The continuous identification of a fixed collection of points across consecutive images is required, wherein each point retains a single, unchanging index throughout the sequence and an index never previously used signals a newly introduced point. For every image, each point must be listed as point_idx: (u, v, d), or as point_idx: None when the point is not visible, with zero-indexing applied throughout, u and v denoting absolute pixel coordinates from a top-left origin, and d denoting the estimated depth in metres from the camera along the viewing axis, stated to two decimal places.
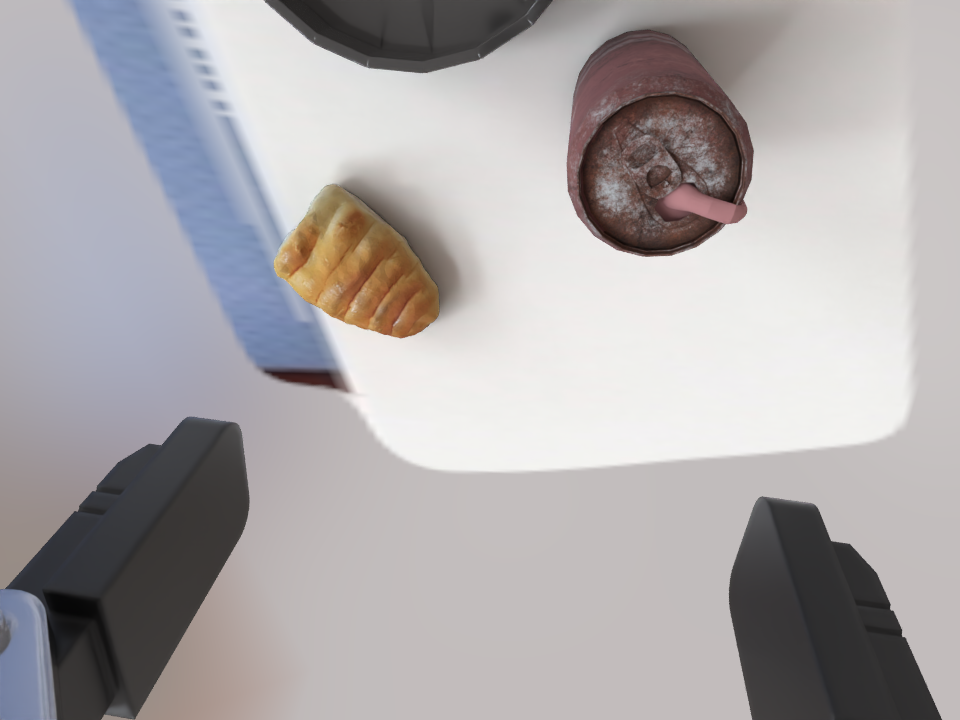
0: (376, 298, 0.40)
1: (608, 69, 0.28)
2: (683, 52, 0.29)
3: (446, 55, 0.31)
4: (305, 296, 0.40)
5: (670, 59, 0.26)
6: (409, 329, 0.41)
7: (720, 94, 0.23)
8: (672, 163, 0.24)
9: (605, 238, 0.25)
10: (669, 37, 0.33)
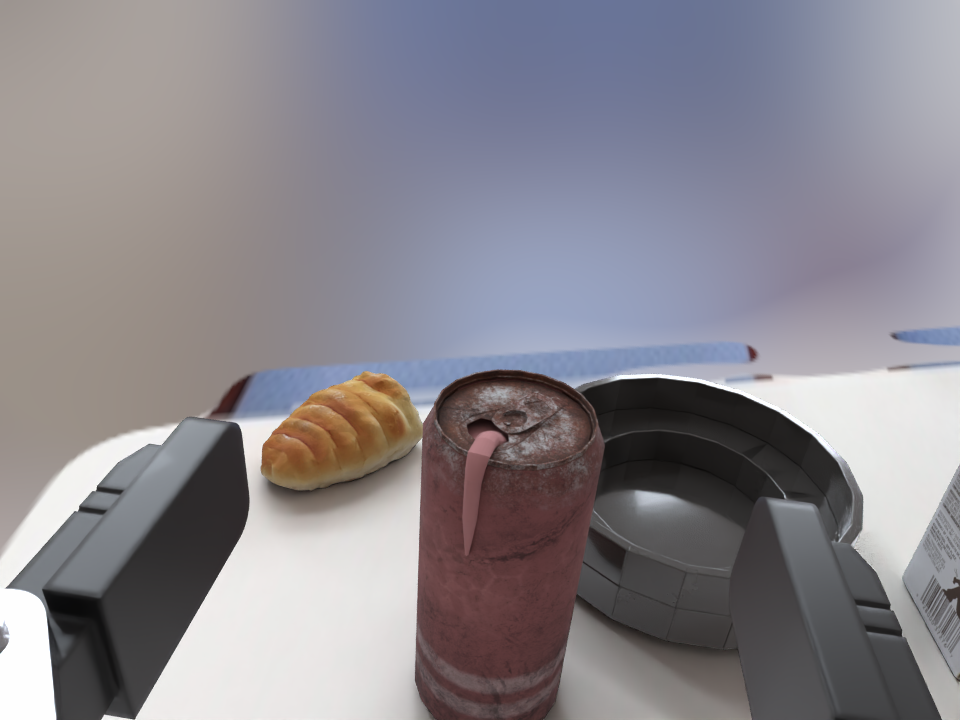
0: (320, 421, 0.41)
1: None
2: (570, 616, 0.27)
3: None
4: None
5: None
6: (273, 447, 0.40)
7: (592, 470, 0.23)
8: (527, 429, 0.24)
9: (455, 382, 0.26)
10: (559, 681, 0.29)
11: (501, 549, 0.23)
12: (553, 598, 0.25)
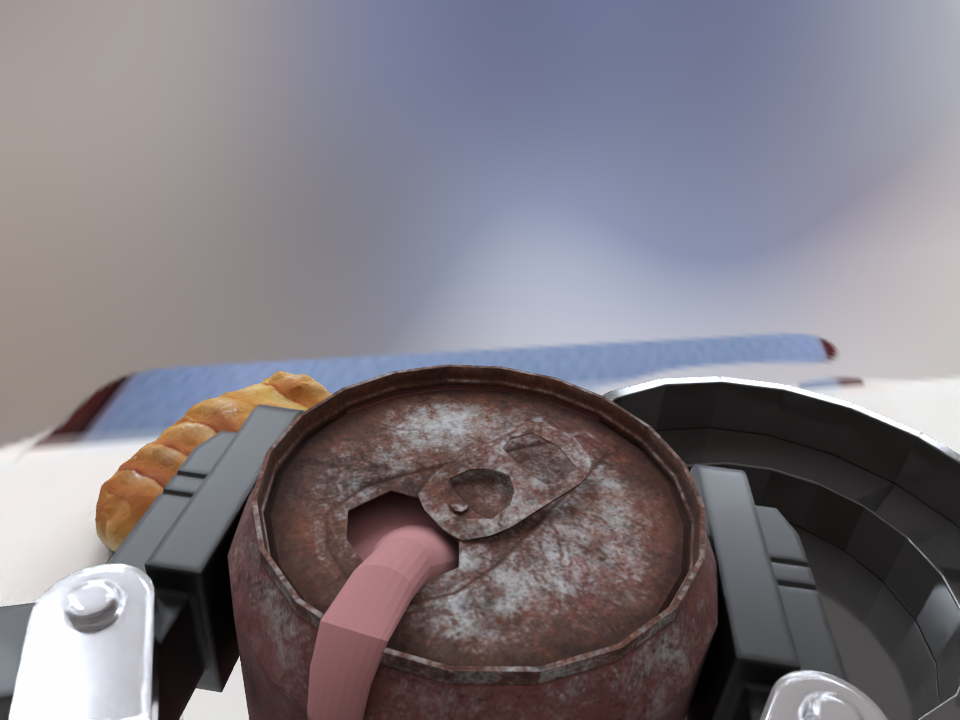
0: (192, 449, 0.26)
1: None
2: None
3: None
4: (228, 392, 0.29)
5: None
6: (113, 493, 0.25)
7: (698, 655, 0.08)
8: (512, 525, 0.09)
9: (338, 394, 0.10)
10: None
11: None
12: None
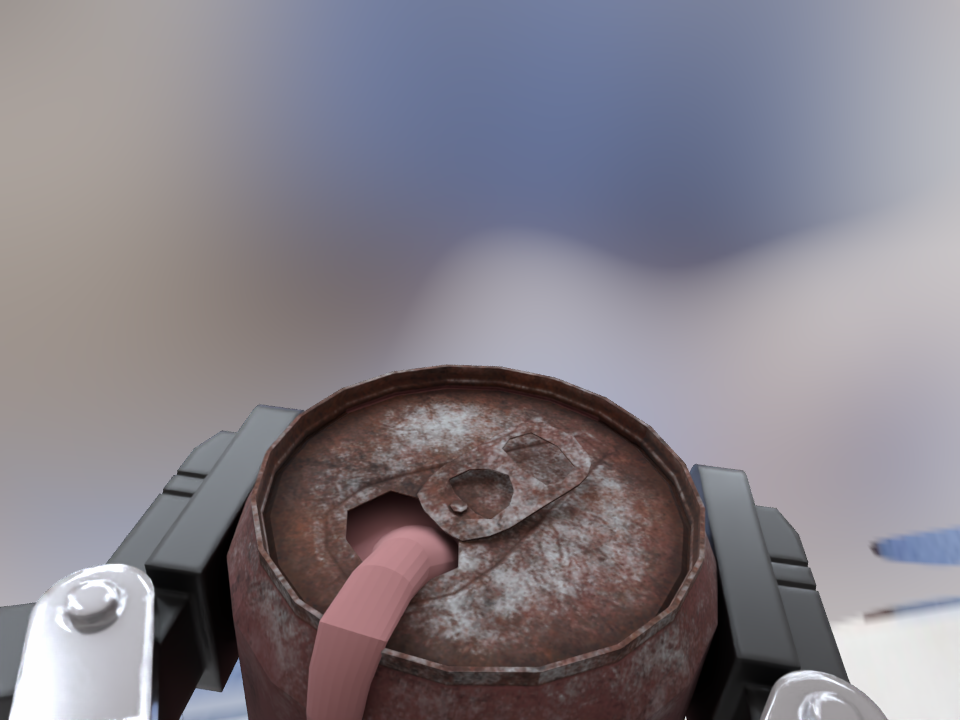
0: None
1: None
2: None
3: None
4: None
5: None
6: None
7: (698, 655, 0.08)
8: (511, 525, 0.09)
9: (337, 395, 0.10)
10: None
11: None
12: None
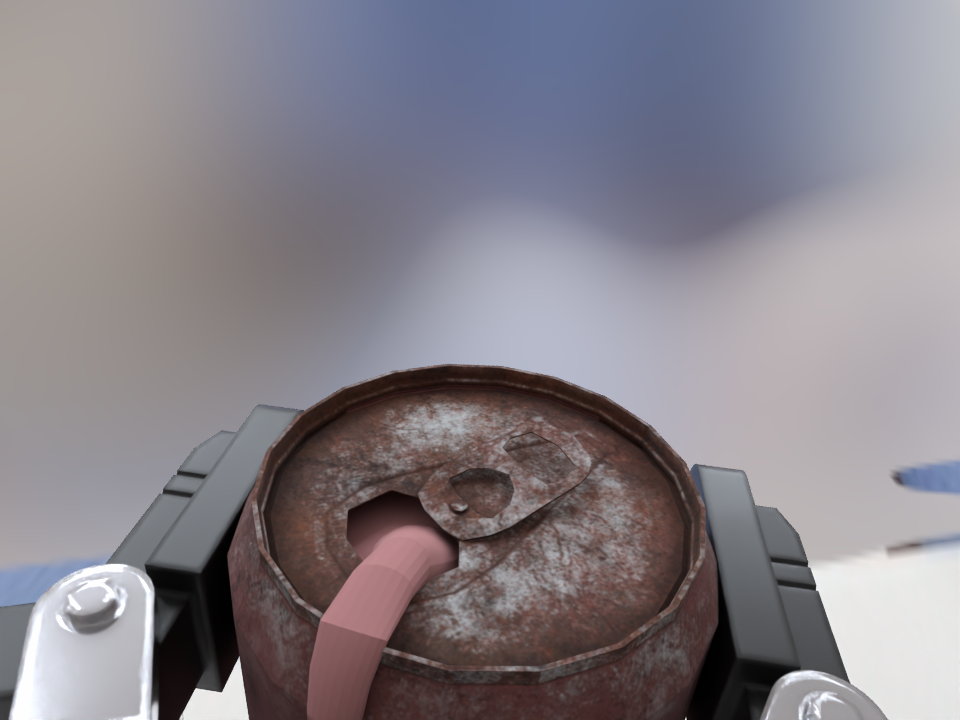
0: None
1: None
2: None
3: None
4: None
5: None
6: None
7: (698, 654, 0.08)
8: (512, 525, 0.09)
9: (338, 394, 0.10)
10: None
11: None
12: None
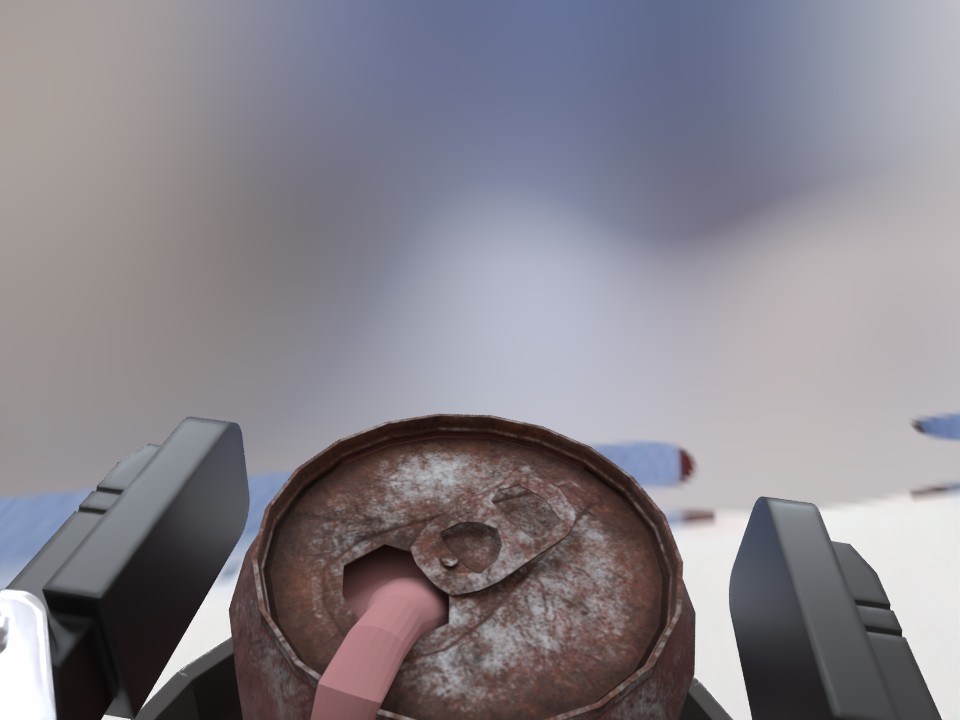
0: None
1: None
2: None
3: None
4: None
5: None
6: None
7: (675, 706, 0.08)
8: (500, 578, 0.09)
9: (334, 447, 0.11)
10: None
11: None
12: None
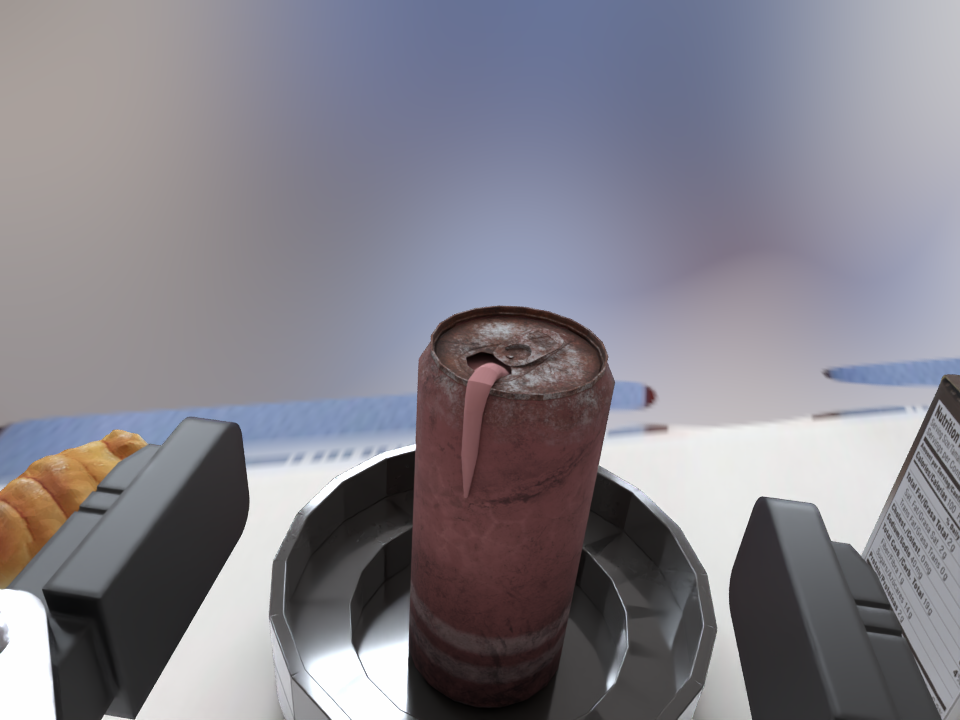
0: (20, 502, 0.31)
1: None
2: (575, 572, 0.25)
3: (285, 584, 0.26)
4: (69, 449, 0.34)
5: (596, 475, 0.24)
6: None
7: (602, 404, 0.21)
8: (531, 362, 0.22)
9: (453, 316, 0.24)
10: (562, 646, 0.28)
11: (503, 490, 0.21)
12: (559, 548, 0.23)
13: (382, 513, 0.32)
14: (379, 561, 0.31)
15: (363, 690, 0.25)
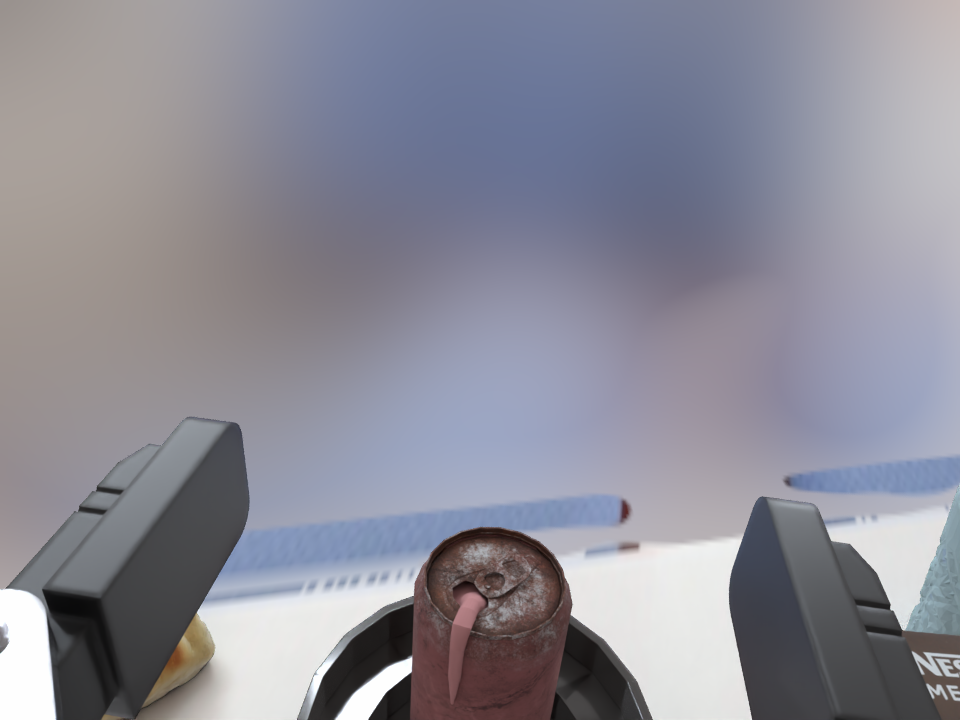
0: None
1: None
2: None
3: None
4: None
5: None
6: None
7: (560, 633, 0.27)
8: (504, 592, 0.28)
9: (442, 542, 0.29)
10: None
11: (481, 701, 0.27)
12: None
13: (385, 658, 0.38)
14: (383, 706, 0.36)
15: None
